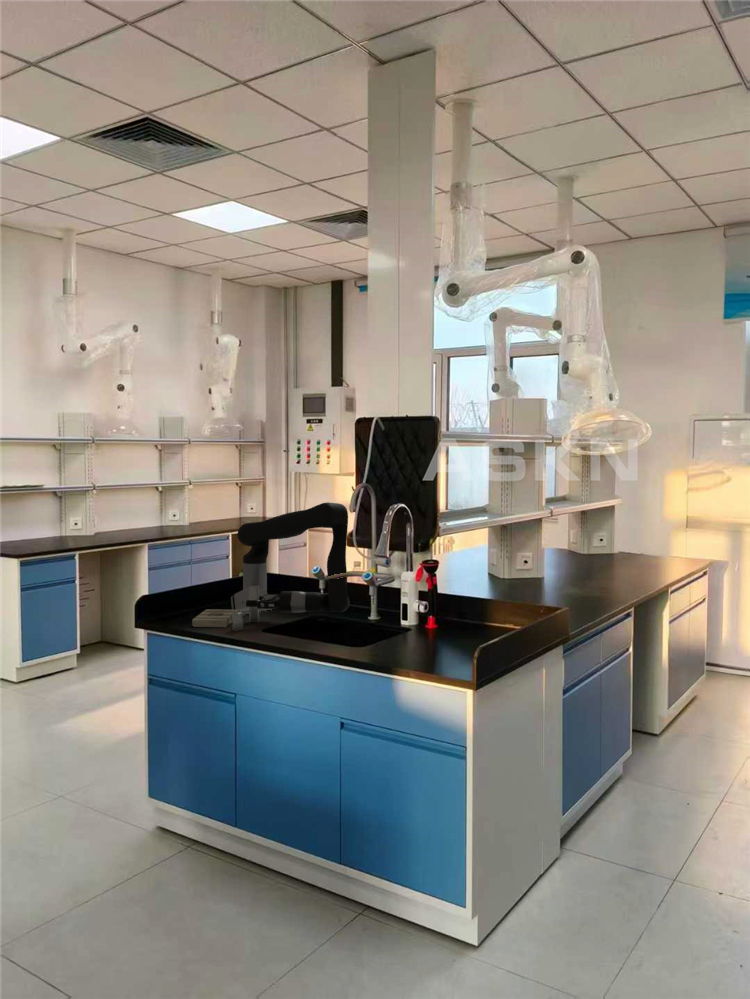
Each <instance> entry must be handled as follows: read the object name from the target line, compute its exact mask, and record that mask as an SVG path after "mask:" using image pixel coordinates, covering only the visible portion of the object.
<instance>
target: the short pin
mask: <svg viewBox="0 0 750 999" xmlns="http://www.w3.org/2000/svg"><path fill="white" fill-rule="evenodd" d="M231 624H232V625H231V626H232V631H233V630H234V631H233V632H240V631H239V630H242V631H243V630H244V616H243V612H233V613H232V622H231Z"/></svg>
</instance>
